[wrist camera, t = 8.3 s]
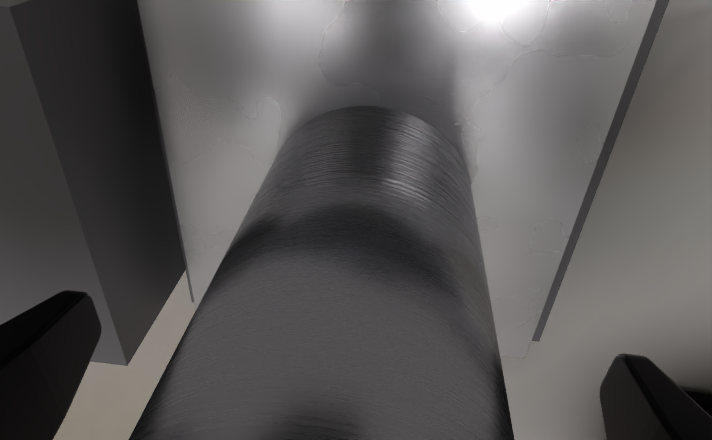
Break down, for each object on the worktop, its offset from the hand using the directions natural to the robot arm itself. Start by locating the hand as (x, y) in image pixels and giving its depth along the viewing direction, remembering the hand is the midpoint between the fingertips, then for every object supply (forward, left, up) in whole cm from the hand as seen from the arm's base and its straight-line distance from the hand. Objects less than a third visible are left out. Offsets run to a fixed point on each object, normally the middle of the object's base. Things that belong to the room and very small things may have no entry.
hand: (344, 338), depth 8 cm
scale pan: (0, 0, -5) cm, 5 cm away
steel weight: (0, 0, -4) cm, 5 cm away
